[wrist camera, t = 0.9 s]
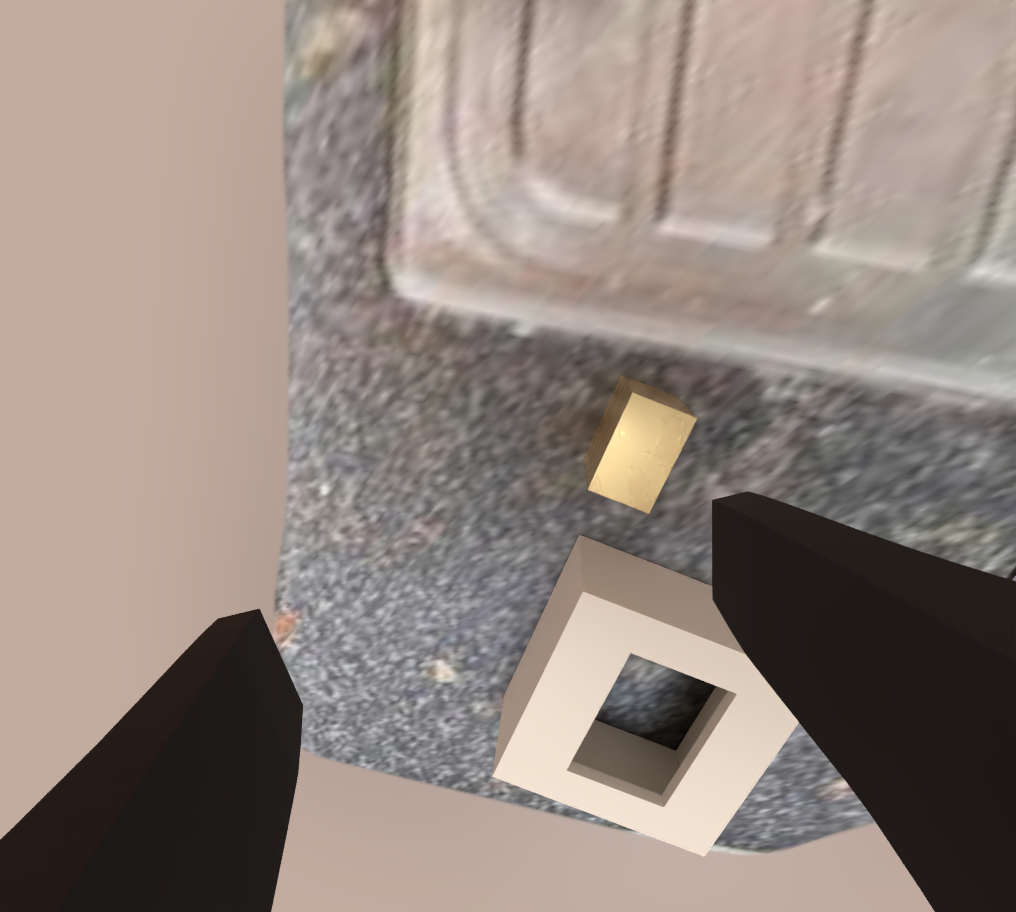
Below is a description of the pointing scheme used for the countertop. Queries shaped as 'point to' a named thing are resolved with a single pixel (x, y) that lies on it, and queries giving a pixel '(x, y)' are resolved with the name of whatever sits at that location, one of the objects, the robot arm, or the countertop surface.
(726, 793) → the box
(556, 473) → the countertop surface
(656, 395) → the block
